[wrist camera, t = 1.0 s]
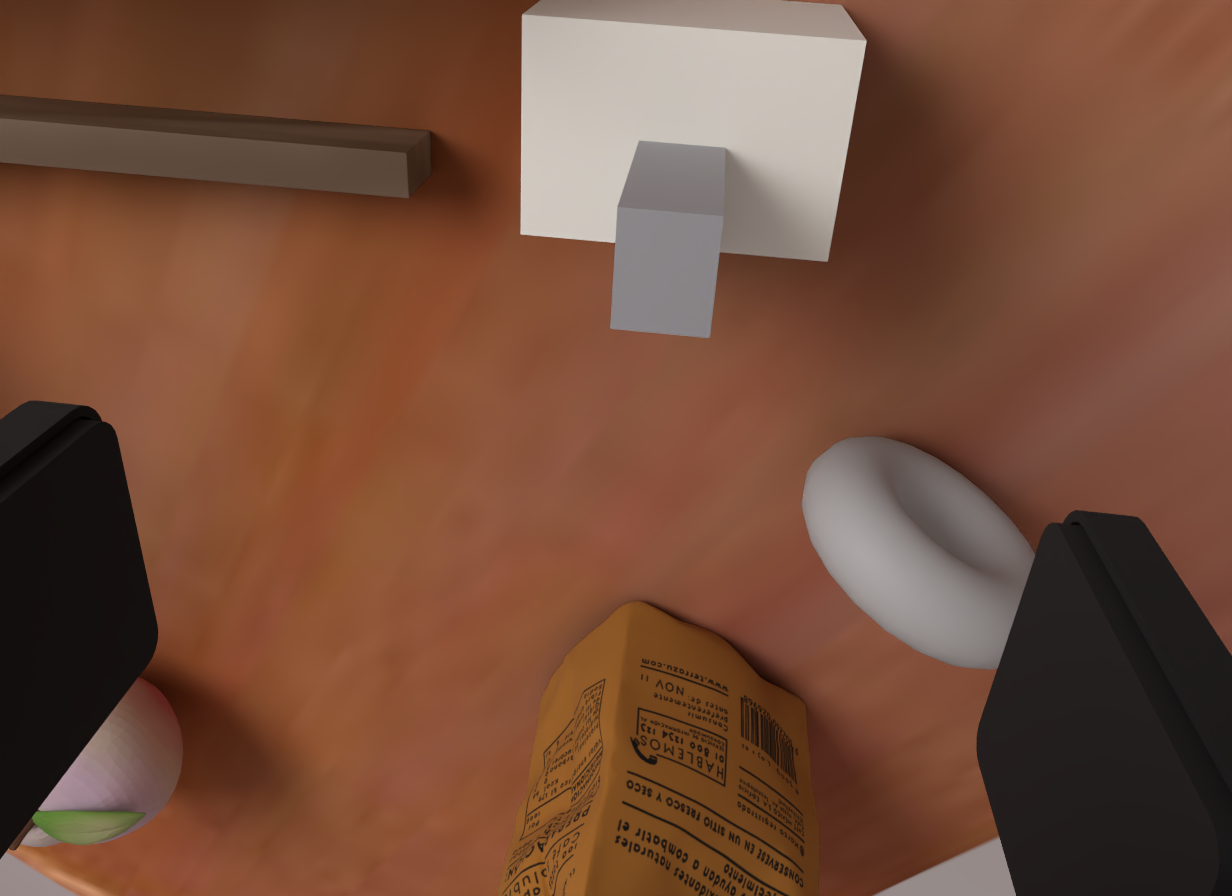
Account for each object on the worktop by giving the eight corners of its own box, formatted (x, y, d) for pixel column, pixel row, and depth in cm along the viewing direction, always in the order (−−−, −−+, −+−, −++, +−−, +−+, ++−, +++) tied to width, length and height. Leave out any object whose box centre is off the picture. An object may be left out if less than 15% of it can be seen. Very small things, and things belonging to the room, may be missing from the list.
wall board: (-271, -236, 31) (-765, -278, 21) (482, -187, 30) (350, -206, 19) (-149, 123, 37) (-489, 228, 27) (486, 178, 35) (386, 310, 25)
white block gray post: (561, -16, 32) (470, 54, 21) (841, 4, 31) (900, 88, 20) (556, 169, 35) (475, 315, 24) (811, 190, 35) (848, 351, 23)
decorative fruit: (176, 607, 48) (55, 770, 39) (242, 727, 52) (146, 899, 43) (11, 625, 50) (-139, 785, 41) (87, 740, 54) (-35, 907, 45)
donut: (776, 444, 40) (788, 606, 31) (827, 380, 38) (855, 532, 30) (975, 555, 42) (1037, 736, 33) (1032, 498, 40) (1113, 673, 31)
